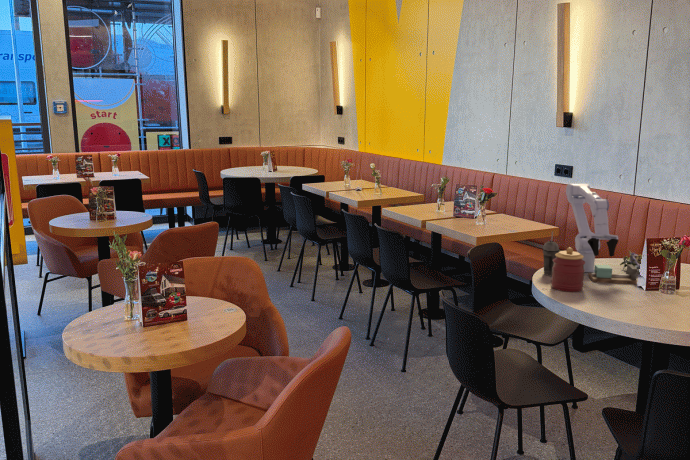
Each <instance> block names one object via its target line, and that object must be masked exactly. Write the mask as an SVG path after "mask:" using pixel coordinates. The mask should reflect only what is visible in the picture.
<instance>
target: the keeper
mask: <svg viewBox="0 0 690 460" xmlns="http://www.w3.org/2000/svg"><path fill="white" fill-rule="evenodd" d="M593 273H596V277H599V278H612V274H613V268H612V267H611V265H609V264H594V272H593Z"/></svg>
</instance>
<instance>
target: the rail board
mask: <svg viewBox="0 0 690 460" xmlns="http://www.w3.org/2000/svg"><path fill="white" fill-rule="evenodd" d="M626 264H627V263H626ZM587 276H588V278H589V279H590V280H591V282H592V283H604V284H626V285H637V283H638V280H637V279H638V273H637V268H636V267H634V266H633V265H631V264H627V267H626V273H625V274H622V273H621V274H620V273H612V278H599V277H596V273H594V272H587Z"/></svg>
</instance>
